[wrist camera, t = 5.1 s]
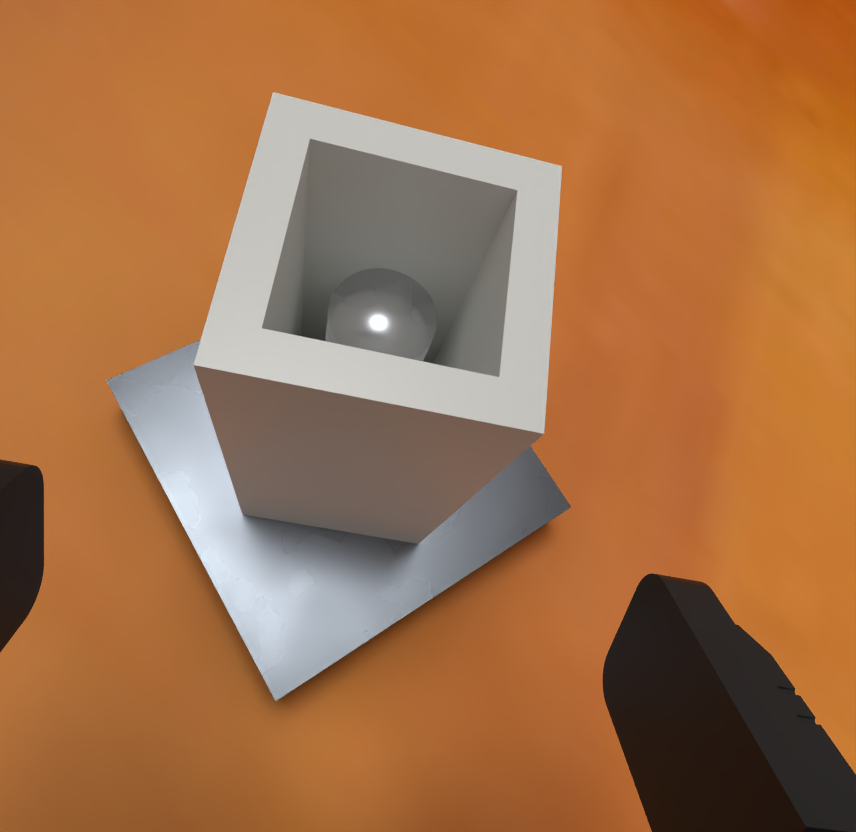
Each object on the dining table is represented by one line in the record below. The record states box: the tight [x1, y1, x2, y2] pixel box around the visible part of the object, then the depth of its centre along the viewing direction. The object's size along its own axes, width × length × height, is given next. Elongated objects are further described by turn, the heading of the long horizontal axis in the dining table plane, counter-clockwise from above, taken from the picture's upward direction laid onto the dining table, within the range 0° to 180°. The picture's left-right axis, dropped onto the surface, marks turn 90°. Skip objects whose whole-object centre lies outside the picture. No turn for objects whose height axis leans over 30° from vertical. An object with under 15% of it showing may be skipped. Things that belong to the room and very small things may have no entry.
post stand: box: [106, 268, 571, 701], centre depth 17 cm, size 10×10×10 cm
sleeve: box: [194, 92, 562, 544], centre depth 15 cm, size 5×5×10 cm
